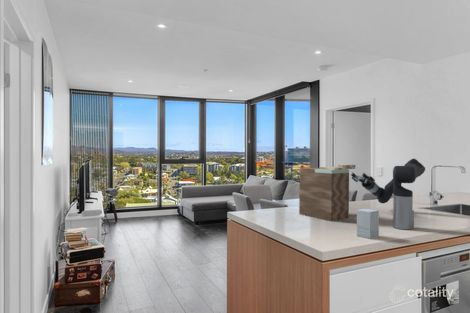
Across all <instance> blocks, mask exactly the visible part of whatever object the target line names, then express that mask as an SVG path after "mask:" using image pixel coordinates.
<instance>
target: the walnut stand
mask: <svg viewBox="0 0 470 313" xmlns="http://www.w3.org/2000/svg"><path fill="white" fill-rule="evenodd" d="M298 190H299V198H298V200H299V201H298V202H299V203H298V206H299V209H298V210H299V212H298V213H299V214H298V215H302V216H306V217H309V218H313V219H320V220H324V221H327V222H336V221H342V220H348V219H349V214H350V213H349V212H350V209H349V208H350V206H349V205H350V200H349V199H350V169H347V170H328V169H320V167H303V168H302V167H300V168H299V189H298Z"/></svg>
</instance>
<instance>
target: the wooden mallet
mask: <svg viewBox="0 0 470 313" xmlns="http://www.w3.org/2000/svg"><path fill="white" fill-rule="evenodd" d="M319 168H320V169H328V170H347V169H348V170H355V169H356V164H338V166H322V167H321V166H320V167H319Z"/></svg>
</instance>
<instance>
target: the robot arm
mask: <svg viewBox="0 0 470 313" xmlns="http://www.w3.org/2000/svg"><path fill="white" fill-rule="evenodd" d="M425 172H426V167H425V166H424V164H422V163H421V162H420V161H419V160H418V159H417V158H411V159H409V160H408V161H407V162H406V163H405V164H404V165H395V166H394V167H393V169H392V179H391V180H390V181H389V182H388V183H386V184H385V185H384V188H383V187H382V186H379V185H378V184H377V183H376V180H375V178H374V177H373V176H369V175H367V174H366V173H365V172H363V173H362V174H361V175H357V174H356V173H354V172H351V174H350V176H351V179H352V180H353V181H354V182H355V183H361V187H363V188H364V189H365V190H366V191H368V192H369V193H371V195H372V196H376V199H377V201H378V202H379V203H380V204H386V203H388V202H389V201H390V200H391V198H392V206H393V207H392V227H393V228H394V229H398V230H412V229H414V228H415V210H413V194H414V193H413V191H412V190H410V189H408V188H405V187H404V186H402V184H412V183H415V181H416V179H417V178H418V177H421V176H422V175H423V174H424V173H425Z"/></svg>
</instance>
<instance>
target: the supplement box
mask: <svg viewBox="0 0 470 313" xmlns="http://www.w3.org/2000/svg"><path fill="white" fill-rule="evenodd" d="M379 213H380V212H379V210H378V209H377V210H376V209H370V208H362V209H361V208H360V209H357V210H356V237H362V238H365V239H369V240H370V239H375V238H379V236H380V235H379V234H380V233H379V232H380V229H379V228H380V226H379V225H380V224H379V223H380V222H379V221H380V220H379V219H380V218H379V217H380V216H379V215H380V214H379Z"/></svg>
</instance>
